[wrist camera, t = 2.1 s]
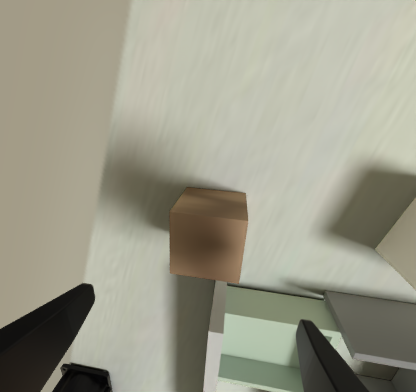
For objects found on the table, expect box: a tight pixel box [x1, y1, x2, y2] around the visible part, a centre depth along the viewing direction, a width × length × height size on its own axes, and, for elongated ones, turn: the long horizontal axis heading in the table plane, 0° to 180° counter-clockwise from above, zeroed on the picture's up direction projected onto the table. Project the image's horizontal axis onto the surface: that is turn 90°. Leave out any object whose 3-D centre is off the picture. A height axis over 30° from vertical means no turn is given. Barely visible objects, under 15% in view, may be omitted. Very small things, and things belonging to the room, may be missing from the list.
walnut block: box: [169, 187, 248, 284], centre depth 15 cm, size 4×4×4 cm
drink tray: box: [203, 280, 342, 392], centre depth 19 cm, size 10×20×5 cm, turn 177°
